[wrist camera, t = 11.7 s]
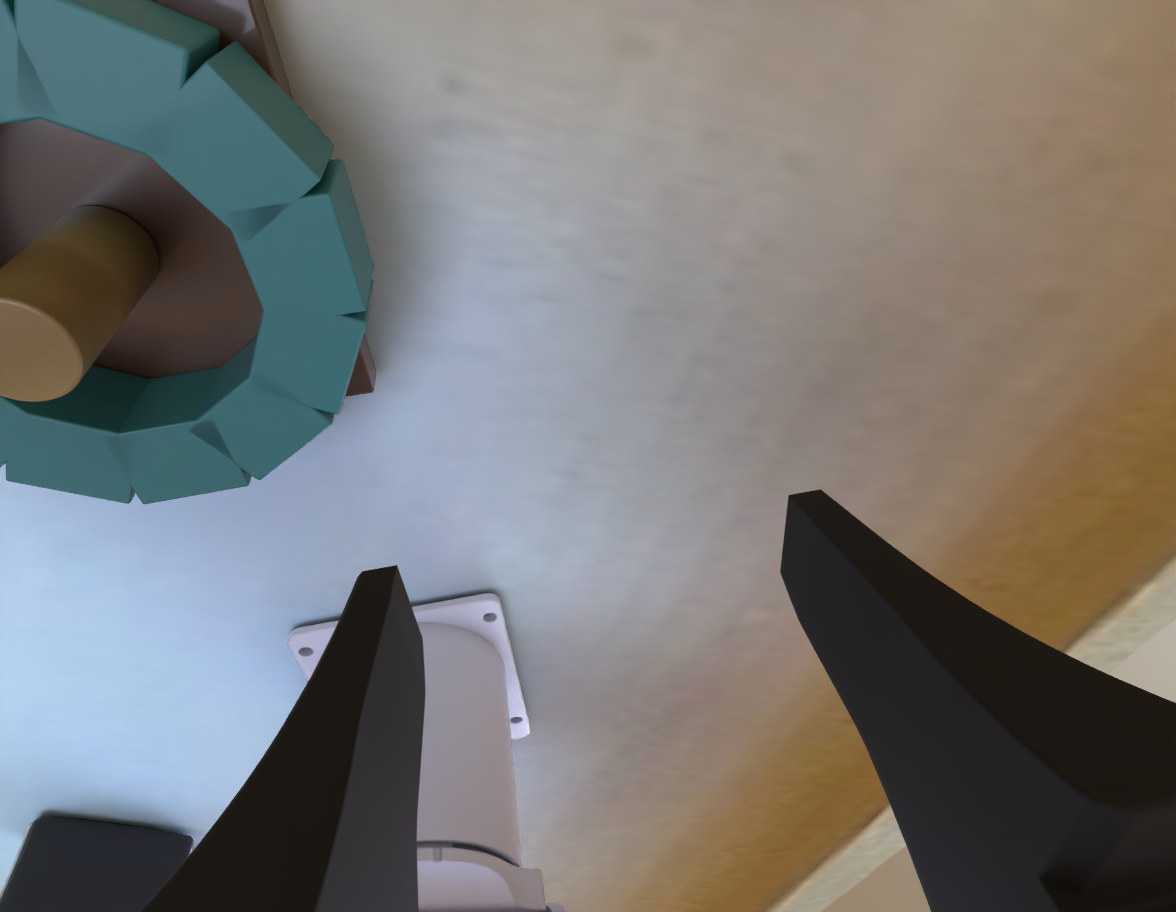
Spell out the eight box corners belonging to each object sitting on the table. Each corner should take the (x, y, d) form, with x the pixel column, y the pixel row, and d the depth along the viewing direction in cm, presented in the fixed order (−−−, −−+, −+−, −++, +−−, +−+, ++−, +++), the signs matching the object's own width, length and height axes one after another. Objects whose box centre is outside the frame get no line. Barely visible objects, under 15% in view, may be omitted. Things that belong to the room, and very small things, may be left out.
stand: (376, 371, 22) (360, 507, 17) (28, 427, 21) (-95, 585, 16) (255, -27, 16) (175, 6, 11) (-245, 30, 15) (-572, 93, 10)
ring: (414, 404, 21) (412, 457, 19) (16, 472, 21) (-30, 535, 19) (277, -65, 14) (251, -59, 12) (-330, 12, 14) (-463, 32, 12)
